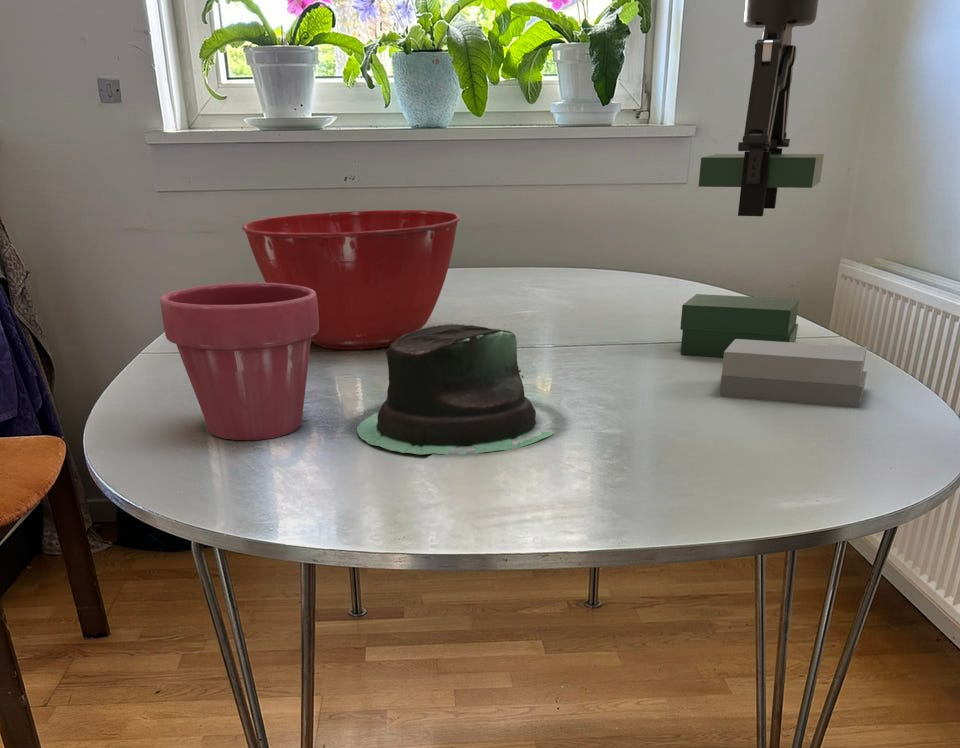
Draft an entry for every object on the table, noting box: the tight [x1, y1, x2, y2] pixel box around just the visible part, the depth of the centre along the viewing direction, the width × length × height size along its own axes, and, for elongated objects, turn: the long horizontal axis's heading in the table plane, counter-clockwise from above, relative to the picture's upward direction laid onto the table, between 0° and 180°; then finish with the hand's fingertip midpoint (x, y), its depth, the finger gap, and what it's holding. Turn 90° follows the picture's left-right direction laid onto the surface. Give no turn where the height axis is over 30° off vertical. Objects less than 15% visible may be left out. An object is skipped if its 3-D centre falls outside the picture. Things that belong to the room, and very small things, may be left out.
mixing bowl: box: [241, 209, 461, 350], centre depth 127 cm, size 28×28×16 cm
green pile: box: [679, 293, 800, 358], centre depth 119 cm, size 13×8×6 cm, turn 67°
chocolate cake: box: [356, 322, 555, 456], centre depth 91 cm, size 15×19×20 cm
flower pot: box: [159, 282, 319, 441], centre depth 91 cm, size 14×14×13 cm
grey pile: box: [718, 339, 868, 409], centre depth 100 cm, size 14×7×5 cm, turn 67°
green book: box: [698, 153, 825, 189], centre depth 109 cm, size 12×10×3 cm
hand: (757, 211), depth 112 cm, fingers closed on green book, 9 cm apart
